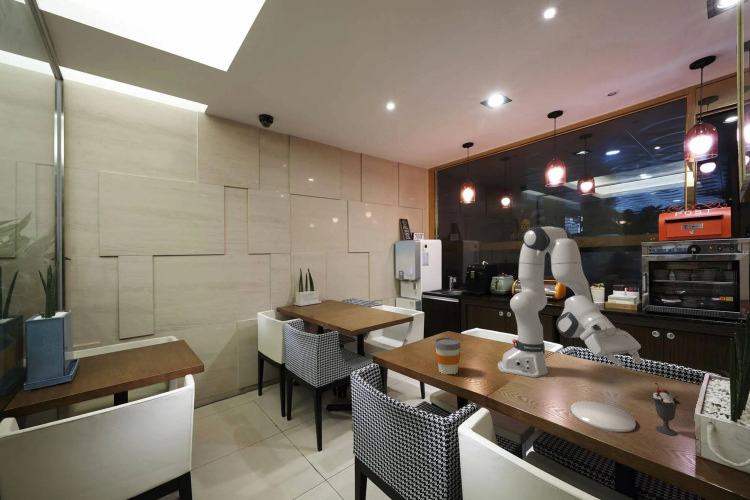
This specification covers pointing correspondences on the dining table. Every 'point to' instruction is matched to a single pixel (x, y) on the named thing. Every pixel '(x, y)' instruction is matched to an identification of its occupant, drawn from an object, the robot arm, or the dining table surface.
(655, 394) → the sundae
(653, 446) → the dining table surface
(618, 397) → the dining table surface
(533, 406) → the dining table surface
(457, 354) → the reusable coffee cup
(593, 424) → the serving plate
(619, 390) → the dining table surface
